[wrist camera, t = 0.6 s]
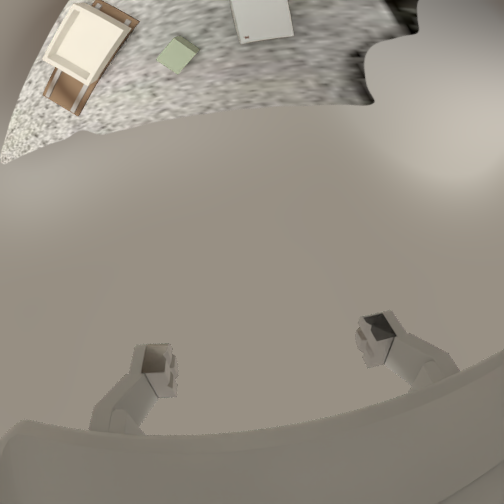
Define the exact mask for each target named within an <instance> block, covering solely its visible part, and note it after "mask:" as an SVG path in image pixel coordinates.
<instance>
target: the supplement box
mask: <svg viewBox="0 0 504 504" xmlns="http://www.w3.org/2000/svg"><path fill="white" fill-rule="evenodd" d="M230 5H231V11H232V16H233V20H234V24H235V28H236V32H237V35H238V38H239V41H240V44H245V43H251V42H257V41H263V40H269V39H275V38H282V37H290V36H294V32H293V25H292V20H291V14H290V9H289V4H288V0H230Z"/></svg>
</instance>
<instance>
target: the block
mask: <svg viewBox="0 0 504 504" xmlns="http://www.w3.org/2000/svg"><path fill="white" fill-rule="evenodd" d="M199 50H200V49H199V48H197V47H196V46H194V45H193V44H192V43H190V42H189V41H187V40H186V39H184V38H183V37H181V36H178V37H175V38H173V40H172V41H171V42H170V43H169V44H168V45H167V47H166V48H165V49H164V50H163V52H162V53H161V54H160V55H159V56H158V58H157V59H156V60H157V61H158V62H160V63H161V64H163V65H164V66H166V67H167V68H169V69H170V70H172V71H173V72H175V73H176V74H179V73H180V72H181V70H182V69H183V68H184V67H185V66H186V65H187V63H188V62H189V61H190V60H191V59H192V58H193V57H194V56H195V54H196V53H197V52H198V51H199Z"/></svg>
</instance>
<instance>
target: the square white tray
mask: <svg viewBox="0 0 504 504" xmlns="http://www.w3.org/2000/svg"><path fill="white" fill-rule="evenodd" d="M131 29H132V28H130V27H128V26H127V25H125V24H123V23H121V22H120V21H118V20H116V19H114V18H113V17H111V16H109V15H107V14H105V13H103V12H102V11H100V10H98V9H96V8H94V7H92V6H90V5H88V4H86V3H74V4H73V5H72V7H71V8H70V10H69V11H68V13H67V15H66V16H65V18H64V20H63V21H62V23H61V25H60V26H59V28H58V30H57V32H56V34H55V35H54V37H53V39H52V41H51V43H50V45H49V47H48V49H47V51H46V53H45V55H44V57H43V59H42V60H44V61H46V62H47V63H49V64H51V65H53V66H54V67H56V68H58V69H60V70H61V71H63V72H65V73H67V74H68V75H70V76H72V77H73V78H75V79H77V80H79V81H80V82H82V83H84V84H85V85H87V86H89V85H90V84H92V83H93V82H95V81H96V80H97V79H98V78H99V76H100V74H101V73H102V71H103V70H104V68H105V66H106V65H107V63H108V62H109V60H110V59H111V57H112V56H113V54H114V53H115V51H116V50H117V48H118V47H119V46H120V44H121V43H122V41H123V40H124V39H125V37H126V36H127V34H128V33H129V32H130V30H131Z"/></svg>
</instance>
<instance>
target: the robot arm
mask: <svg viewBox="0 0 504 504" xmlns="http://www.w3.org/2000/svg"><path fill="white" fill-rule="evenodd" d="M358 324H359V326H360V327H359V328H358V329H357V331H356V344H357V347H358V349H359V350H360V351H361V352H363V353H364V354H363V359H364V361H365V364H366V365H367V368H371V367H375V366H379V365H383V364H384V365H385V366H386V367H387V368H389V369H390V370H392V371H393V372H394V373H395V374H397V375H398V376H400V377H401V378H402V379H404V380H405V381H406V382H408V383H409V384H410V385H411V386H412V387H411V388H410V390H409V392H408V393H407V394H404V395H402V396H399V397H396V398H393V399H390V400H387V401H384V402H381V403H377V404H374V405H371V406H367V407H364V408H361V409H357V410H354V411H350V412H346V413H342V414H338V415H334V416H330V417H325V418H321V419H316V420H312V421H307V422H302V423H297V424H291V425H285V426H279V427H273V428H266V429H258V430H250V431H241V432H231V433H219V434H205V435H204V434H202V435H145V434H144V432H143V431H142V430H141V429H140V428H139V426H140V425H141V423H142V422H143V420H144V419H145V418H146V416H147V415H148V413H149V412H150V410H151V409H152V407H153V406H154V404H155V403H156V402H157V400H158V398H169V397H177V386H178V385H177V383H176V380H175V379H176V378H177V377H178V363H177V360H176V357H175V355H173V354H172V350H173V349H172V346H171V344H169V343H165V344H142V345H136V346H135V348H134V352H133V357H132V361H131V366H130V371H129V374H125V375H124V377H122V378H121V379H120V381H119V382H118V383H117V384H116V385H115V386H114V387H113V388H112V389H111V390H110V391H109V392H108V393H107V394H106V395H105V396H104V397H103V398H102V399H101V400H100V401H99V402H98V403H97V404H96V405H95V407H94V408H93V412H92V417H91V421H90V426H89V430H81V429H74V428H68V427H62V426H56V425H51V424H46V423H41V422H37V421H32V420H27V419H26V420H25V419H24V420H21V421H20V422H18V423H17V424H16V425H14V426H13V427H12V428H11V429H9V430H8V431H7V432H6V433H5V434H4V435H3V436H2V437H1V438H0V504H504V349H503V350H501V351H499V352H497V353H495V354H494V355H492V356H490V357H488V358H486V359H484V360H482V361H481V362H479V363H477V364H475V365H473V366H471V367H469V368H466V369H465V370H462V371H460V370H459V368H458V367H457V365H456V364H455V362H454V361H453V359H452V358H451V356H450V355H449V353H447V352H445V351H443V350H441V349H439V348H438V347H435V346H434V345H432V344H430V343H428V342H426V341H424V340H422V339H420V338H418V337H417V336H415V335H413V334H411V333H408V334H407V333H406V331H405V330H404V328H403V327H402V325H401V323H400V322H399V321H398V319H397V318H396V316H395V315H394V313H393V312H392V311H391V310H388V311H384V312H380V313H375V314H371V315H366V316H362V317H360V318H359V322H358Z"/></svg>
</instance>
